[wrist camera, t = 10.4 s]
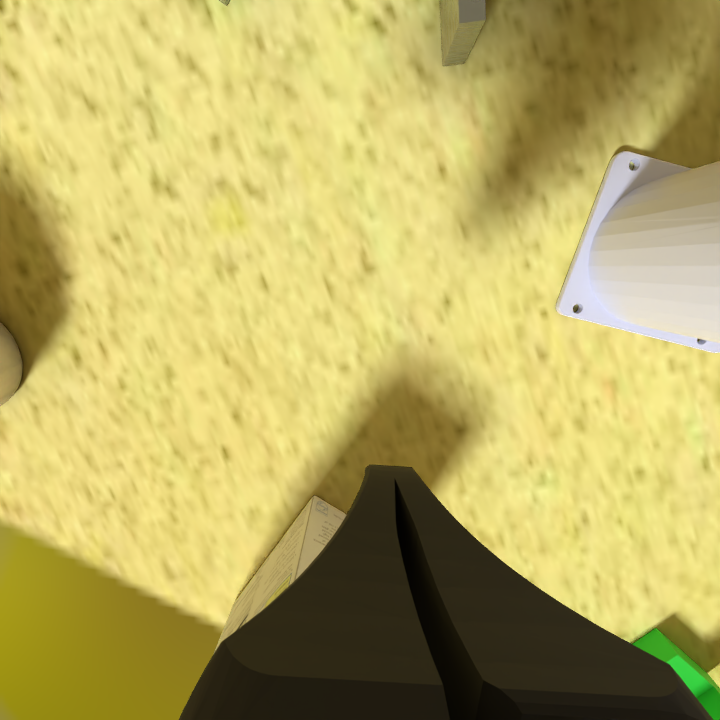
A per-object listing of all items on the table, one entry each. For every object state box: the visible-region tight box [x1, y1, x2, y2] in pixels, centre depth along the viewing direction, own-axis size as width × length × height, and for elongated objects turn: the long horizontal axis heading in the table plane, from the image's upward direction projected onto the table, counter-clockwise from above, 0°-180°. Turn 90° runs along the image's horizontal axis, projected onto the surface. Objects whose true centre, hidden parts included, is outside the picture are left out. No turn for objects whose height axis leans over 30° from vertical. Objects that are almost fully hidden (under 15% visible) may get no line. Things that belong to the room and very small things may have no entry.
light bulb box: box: [214, 495, 347, 653], centre depth 19 cm, size 11×7×11 cm, turn 146°
